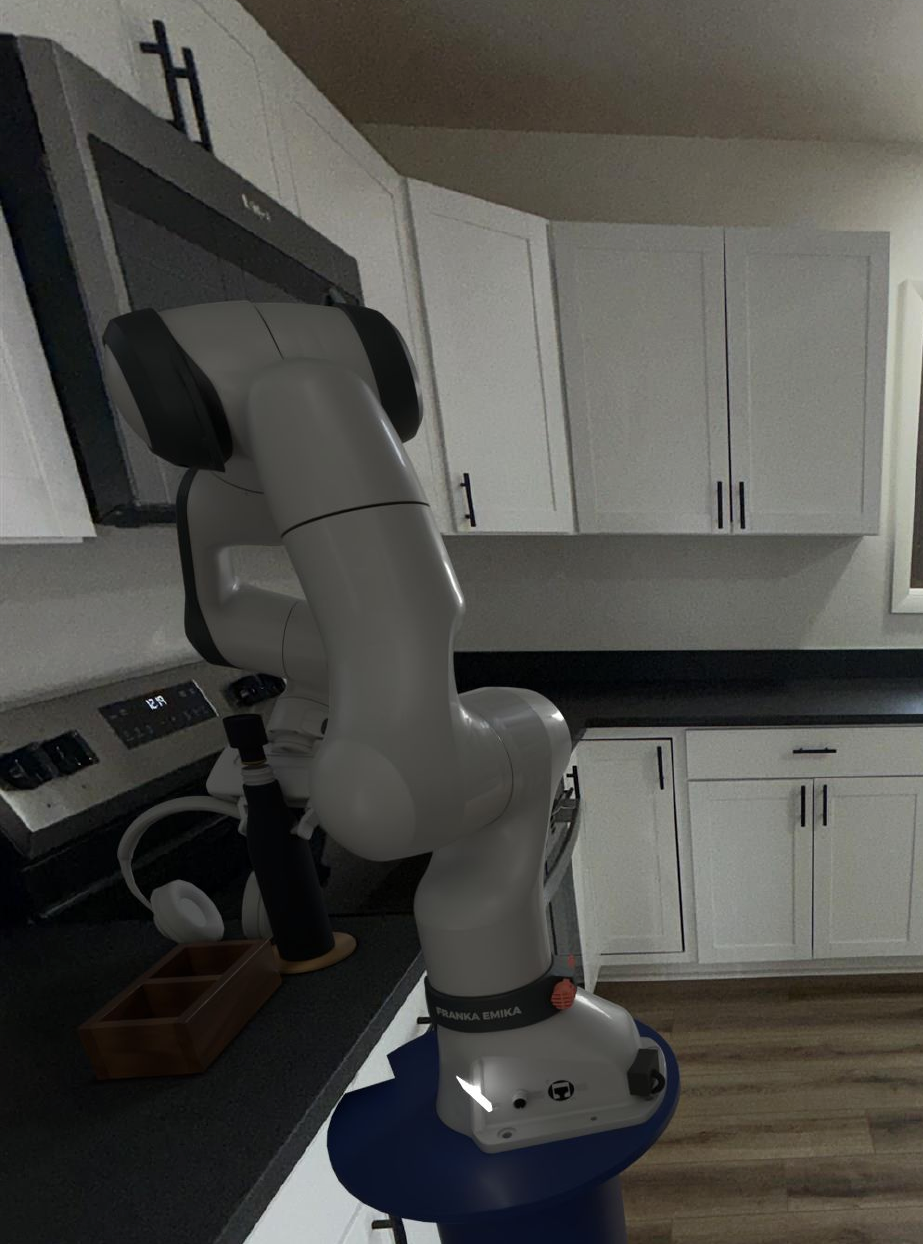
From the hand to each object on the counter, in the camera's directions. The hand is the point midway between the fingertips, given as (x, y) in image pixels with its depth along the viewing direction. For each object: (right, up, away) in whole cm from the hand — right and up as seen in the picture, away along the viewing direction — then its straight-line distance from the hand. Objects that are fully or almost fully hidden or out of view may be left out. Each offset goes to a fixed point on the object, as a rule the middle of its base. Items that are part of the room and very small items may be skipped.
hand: (273, 836), depth 103 cm
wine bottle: (0, -14, +7) cm, 16 cm away
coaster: (0, -14, +7) cm, 16 cm away
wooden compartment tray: (-3, -22, -9) cm, 24 cm away
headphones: (-11, -14, +10) cm, 20 cm away
